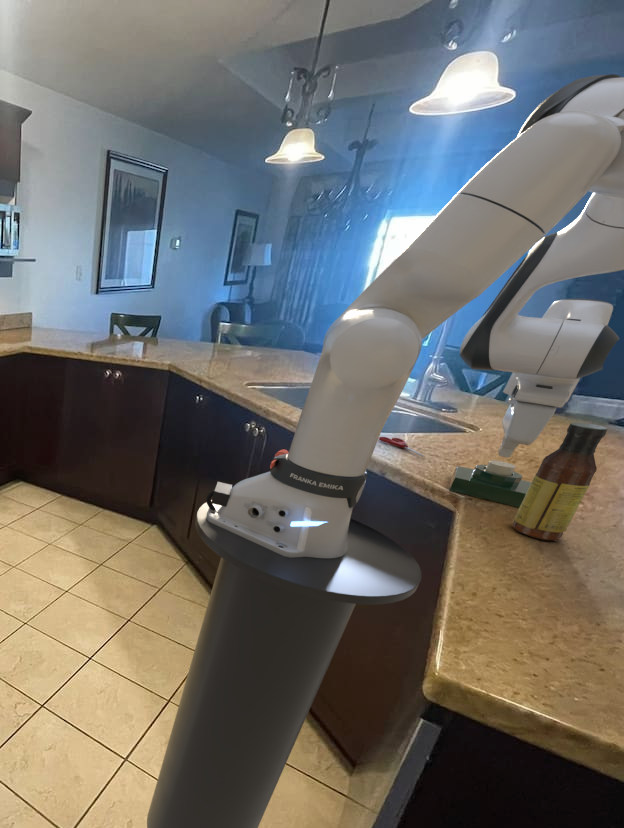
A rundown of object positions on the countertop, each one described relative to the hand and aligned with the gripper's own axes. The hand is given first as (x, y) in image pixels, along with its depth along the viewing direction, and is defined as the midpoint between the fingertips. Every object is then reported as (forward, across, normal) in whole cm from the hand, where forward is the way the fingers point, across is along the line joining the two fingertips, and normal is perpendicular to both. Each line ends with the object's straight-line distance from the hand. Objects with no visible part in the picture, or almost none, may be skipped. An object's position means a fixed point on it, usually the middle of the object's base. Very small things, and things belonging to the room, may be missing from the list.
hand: (503, 455), depth 100 cm
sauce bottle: (+8, +19, +6) cm, 22 cm away
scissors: (+8, -22, -15) cm, 28 cm away
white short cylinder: (+4, 0, 0) cm, 4 cm away
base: (+8, 0, 0) cm, 8 cm away
